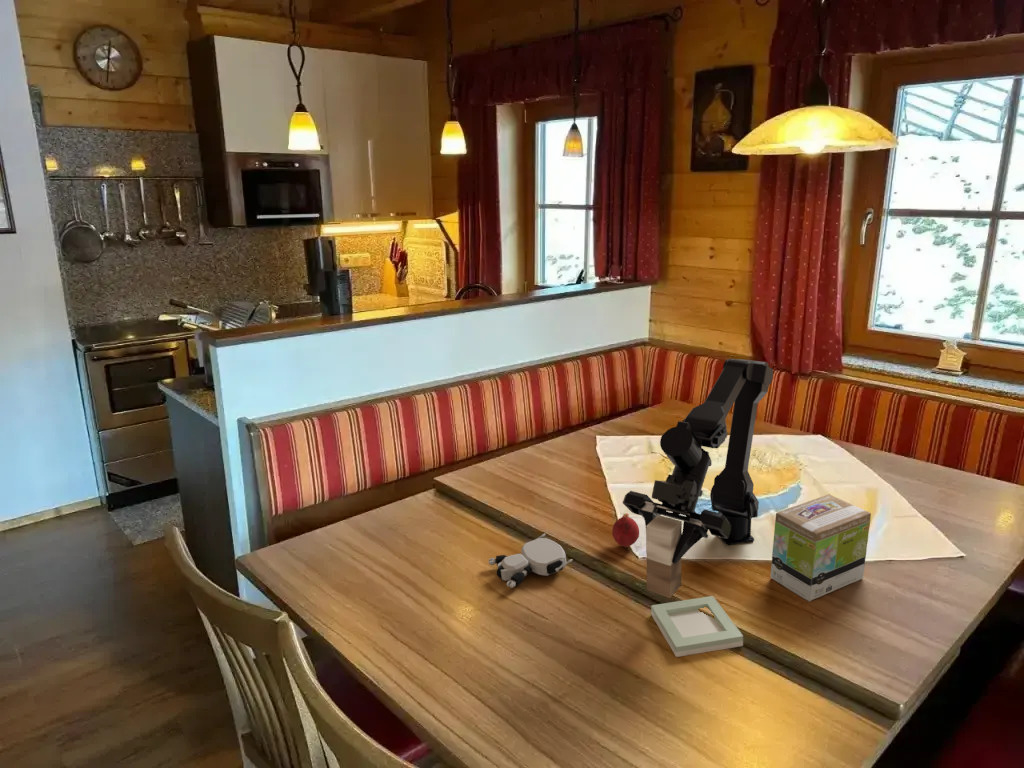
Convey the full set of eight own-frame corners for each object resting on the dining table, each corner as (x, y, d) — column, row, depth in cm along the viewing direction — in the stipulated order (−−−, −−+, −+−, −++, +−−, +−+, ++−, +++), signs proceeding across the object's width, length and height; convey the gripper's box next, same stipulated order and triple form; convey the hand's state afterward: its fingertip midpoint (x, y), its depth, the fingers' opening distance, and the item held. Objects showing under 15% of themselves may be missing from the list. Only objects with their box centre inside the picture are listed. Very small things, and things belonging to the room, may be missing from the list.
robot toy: (511, 601, 139) (577, 574, 144) (508, 581, 137) (574, 555, 143) (486, 571, 150) (549, 547, 155) (483, 553, 148) (546, 529, 153)
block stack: (658, 577, 130) (658, 514, 126) (680, 585, 127) (681, 521, 123) (646, 590, 126) (646, 525, 122) (670, 598, 124) (670, 532, 120)
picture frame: (712, 605, 132) (712, 595, 131) (742, 645, 121) (743, 636, 120) (651, 614, 130) (651, 605, 130) (676, 657, 119) (676, 647, 118)
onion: (638, 554, 150) (638, 521, 148) (611, 553, 151) (611, 520, 149) (639, 540, 156) (639, 508, 153) (613, 539, 157) (612, 507, 154)
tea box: (811, 604, 131) (816, 533, 126) (769, 578, 139) (772, 511, 135) (865, 579, 137) (872, 511, 133) (822, 556, 146) (827, 491, 141)
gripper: (626, 450, 128) (597, 530, 123) (726, 472, 117) (698, 561, 112) (646, 473, 136) (619, 549, 131) (742, 495, 125) (716, 579, 120)
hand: (660, 559), depth 124 cm, fingers closed on block stack, 4 cm apart
